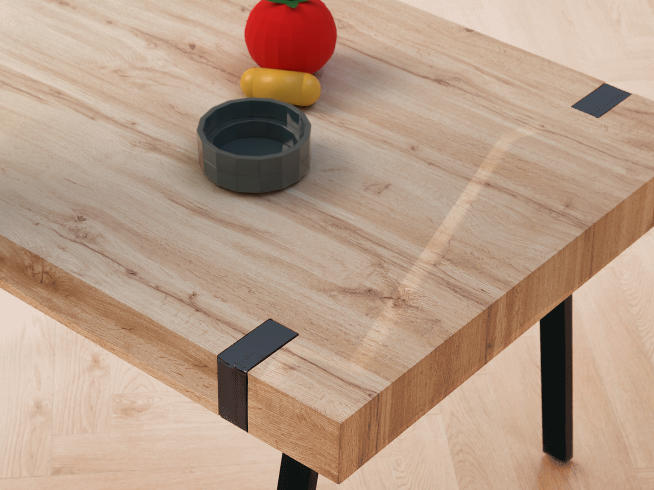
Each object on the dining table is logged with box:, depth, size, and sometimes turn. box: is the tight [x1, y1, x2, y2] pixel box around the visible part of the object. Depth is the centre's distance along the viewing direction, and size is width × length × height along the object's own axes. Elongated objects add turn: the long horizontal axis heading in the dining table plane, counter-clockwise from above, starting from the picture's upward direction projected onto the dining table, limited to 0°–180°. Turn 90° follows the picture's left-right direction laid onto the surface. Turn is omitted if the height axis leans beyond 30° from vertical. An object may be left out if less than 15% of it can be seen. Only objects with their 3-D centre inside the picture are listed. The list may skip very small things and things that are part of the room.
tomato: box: [243, 0, 338, 75], centre depth 121 cm, size 10×10×10 cm
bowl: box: [196, 97, 312, 194], centre depth 109 cm, size 11×11×4 cm
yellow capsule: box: [239, 66, 322, 107], centre depth 118 cm, size 9×4×4 cm
